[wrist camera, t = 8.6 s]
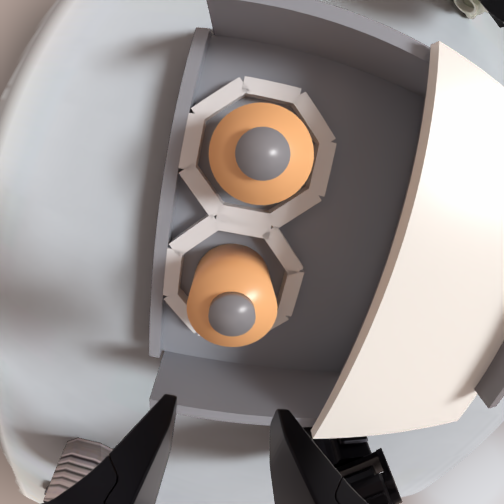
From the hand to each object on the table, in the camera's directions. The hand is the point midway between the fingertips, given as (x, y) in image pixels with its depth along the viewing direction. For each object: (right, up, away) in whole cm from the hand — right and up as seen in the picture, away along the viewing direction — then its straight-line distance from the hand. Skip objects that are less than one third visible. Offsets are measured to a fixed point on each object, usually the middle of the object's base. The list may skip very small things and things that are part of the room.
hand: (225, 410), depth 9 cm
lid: (+14, +3, +5) cm, 16 cm away
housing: (+9, +6, +11) cm, 15 cm away
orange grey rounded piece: (0, +4, +10) cm, 11 cm away
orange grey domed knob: (+1, +11, +8) cm, 14 cm away
